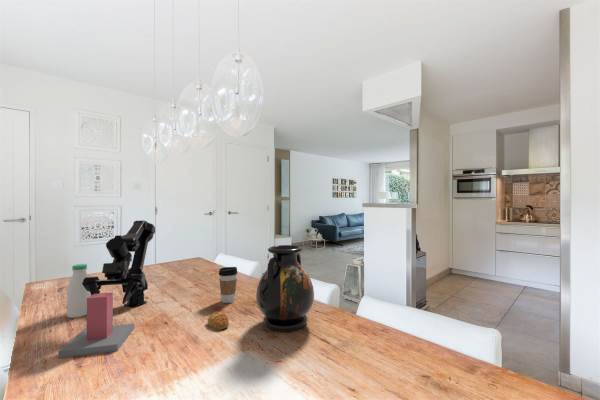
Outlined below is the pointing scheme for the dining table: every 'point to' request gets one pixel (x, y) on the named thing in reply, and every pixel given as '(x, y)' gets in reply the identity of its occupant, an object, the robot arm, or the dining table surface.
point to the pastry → (218, 320)
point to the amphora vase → (285, 290)
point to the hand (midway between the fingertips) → (108, 304)
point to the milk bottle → (77, 292)
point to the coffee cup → (228, 284)
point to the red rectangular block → (99, 316)
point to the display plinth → (96, 342)
